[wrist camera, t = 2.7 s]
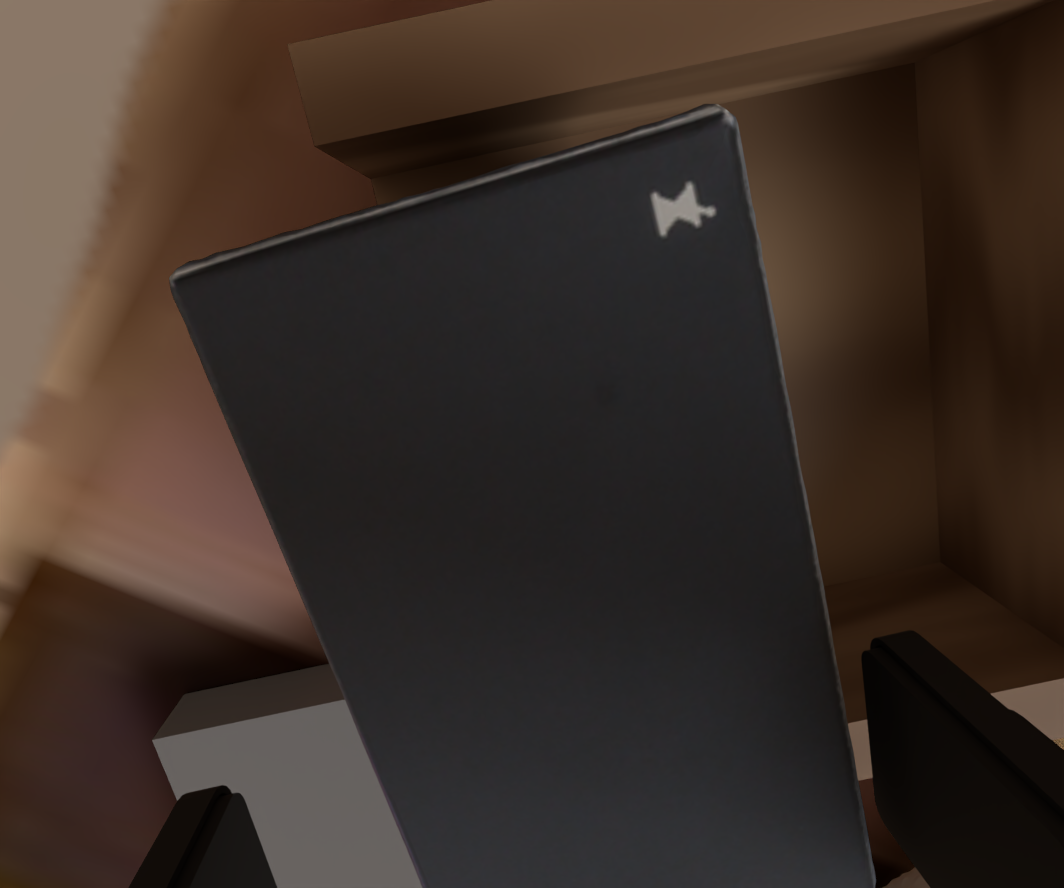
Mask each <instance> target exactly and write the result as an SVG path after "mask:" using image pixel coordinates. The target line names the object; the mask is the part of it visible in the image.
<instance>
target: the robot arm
mask: <svg viewBox="0 0 1064 888" xmlns="http://www.w3.org/2000/svg"><path fill="white" fill-rule="evenodd" d="M861 662H862V672H863V683H864V693H865V703H866V714H867V724H868V734H869V745H870V755H871V765H872V775H873V786H874V796H875V802H876V806H877V809H878V812H879V814H880V817H881V819H882V821H883V823H884V824H885V826H886V827H887V829H888V830H889V832H890V833H891V834H892V836H893V837H894V838H895V840H896V841H897V843H898V844H899V845H900V847H901V848H902V850H903V851H904V852H905V854H906V855H907V856H908V858H909V859H910V861H911V862H912V863H913V865H914V866H915V867H916V869H917V870H918V872H919V873H920V874H921V876H922V877H923V879H924V880H925V881H926V883H927V884H928V885H929V887H930V888H1064V750H1063V749H1062V748H1060V747H1059V746H1058V745H1057V744H1056V743H1054V742H1053V741H1052V740H1051V739H1050V738H1048V737H1047V736H1046V735H1045V734H1044V733H1042V732H1041V731H1040V730H1039V729H1038V728H1036V727H1035V726H1034V725H1033V724H1032V723H1030V722H1029V721H1028V720H1027V719H1025V718H1024V717H1023V716H1021V715H1020V714H1018V713H1017V712H1015V711H1014V710H1010V709H1008V708H1007V707H1005V706H1004V705H1003V704H1002V703H1001V702H1000V701H998V700H997V699H996V698H995V697H994V696H992V695H991V694H990V693H989V692H988V691H986V690H985V689H984V688H983V687H982V686H980V685H979V684H978V683H977V682H976V681H974V680H973V679H972V678H971V677H970V676H969V675H967V674H966V673H965V672H964V671H963V670H961V669H960V668H959V667H958V666H957V665H955V664H954V663H953V662H952V661H951V660H949V659H948V658H947V657H946V656H945V655H943V654H942V653H941V652H940V651H939V650H937V649H936V648H935V647H934V646H933V645H932V644H930V643H929V642H928V641H927V640H926V639H924V638H923V637H922V636H921V635H920V634H918V633H917V632H915V631H913V630H908V631H903V632H899V633H894V634H890V635H885V636H881V637H877V638H874V639H873V640H872V641H871V644H870V650H866V651H864V652H862V656H861ZM129 888H277V885H276V883H275V880H274V877H273V874H272V872H271V869H270V866H269V864H268V861H267V858H266V856H265V853H264V850H263V848H262V845H261V842H260V839H259V837H258V834H257V831H256V829H255V826H254V823H253V821H252V818H251V815H250V813H249V810H248V807H247V804H246V802H245V799H244V797H243V796H242V795H241V794H240V793H232V792H231V790H230V789H229V788H228V787H227V786H225V785H220V786H216V787H211V788H207V789H202V790H198V791H194V792H189V793H186V794H184V795H182V796H181V797H180V798H179V800H178V801H177V803H176V805H175V806H174V808H173V810H172V812H171V813H170V815H169V817H168V819H167V821H166V822H165V824H164V826H163V828H162V829H161V831H160V833H159V835H158V836H157V838H156V840H155V842H154V844H153V845H152V847H151V849H150V851H149V852H148V854H147V856H146V858H145V859H144V861H143V863H142V865H141V867H140V868H139V870H138V872H137V874H136V875H135V877H134V879H133V881H132V883H131V884H130V886H129Z"/></svg>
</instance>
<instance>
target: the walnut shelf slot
mask: <svg viewBox="0 0 1064 888" xmlns="http://www.w3.org/2000/svg"><path fill="white" fill-rule="evenodd" d="M287 46H288V50H289V53H290V57H291V61H292V64H293V68H294V72H295V76H296V79H297V83H298V87H299V90H300V94H301V98H302V102H303V105H304V109H305V113H306V117H307V120H308V124H309V128H310V131H311V135H312V139H313V143H314V146H315V147H317V148H318V149H320V150H322V151H324V152H325V153H327V154H329V155H331V156H332V157H334V158H336V159H337V160H339V161H341V162H343V163H344V164H346V165H348V166H350V167H351V168H353V169H355V170H356V171H358V172H360V173H362V174H363V175H365V176H367V177H369V178H370V179H371V182H372V186H373V190H374V194H375V198H376V202H377V205H380V204H384V203H389V202H393V201H396V200H399V199H401V198H403V197H407V196H412V195H417V194H421V193H424V192H427V191H430V190H432V189H437V188H442V187H445V186H448V185H451V184H454V183H458V182H461V181H464V180H467V179H470V178H473V177H476V176H479V175H482V174H485V173H488V172H491V171H493V170H496V169H499V168H502V167H505V166H509V165H512V164H516V163H520V162H524V161H527V160H531V159H535V158H538V157H541V156H545V155H548V154H551V153H555V152H558V151H561V150H565V149H568V148H571V147H575V146H578V145H581V144H585V143H588V142H591V141H595V140H598V139H601V138H605V137H608V136H612V135H615V134H618V133H622V132H625V131H628V130H630V129H633V128H636V127H638V126H642V125H646V124H650V123H654V122H658V121H661V120H664V119H667V118H670V117H672V116H675V115H678V114H681V113H684V112H686V111H689V110H691V109H693V108H696V107H698V106H701V105H703V104H718V105H720V106H721V107H723V108H725V109H726V110H728V111H729V112H730V113H731V114H733V115H734V116H735V117H736V120H737V122H738V126H739V131H740V136H741V142H742V148H743V153H744V159H745V165H746V171H747V176H748V182H749V188H750V194H751V199H752V205H753V209H754V212H755V217H756V227H757V231H758V234H759V238H760V241H761V247H762V258H763V262H764V266H765V271H766V276H767V282H768V288H769V293H770V298H771V303H772V308H773V313H774V318H775V323H776V328H777V334H778V340H779V346H780V352H781V358H782V364H783V370H784V376H785V382H786V387H787V392H788V397H789V401H790V406H791V412H792V417H793V423H794V429H795V435H796V442H797V448H798V455H799V462H800V467H801V472H802V477H803V481H804V485H805V489H806V494H807V499H808V505H809V511H810V518H811V523H812V528H813V532H814V538H815V543H816V549H817V555H818V561H819V566H820V571H821V576H822V580H823V585H824V590H825V597H826V603H827V608H828V613H829V619H830V625H831V632H832V638H833V644H834V650H835V656H836V661H837V666H838V671H839V676H840V682H841V687H842V692H843V697H844V703H845V710H846V717H847V722H848V727H849V733H850V737H851V742H852V747H853V752H854V758H855V765H856V771H857V777H858V781H859V780H864V779H869V778H873V775H872V765H871V755H870V745H869V734H868V724H867V714H866V703H865V693H864V683H863V672H862V662H861V656H862V652H864V651H866V650H870V644H871V641H872V640H873V639H874V638H877V637H881V636H885V635H890V634H894V633H899V632H903V631H908V630H913V631H915V632H917V633H918V634H920V635H921V636H922V637H923V638H924V639H926V640H927V641H928V642H929V643H930V644H932V645H933V646H934V647H935V648H936V649H937V650H939V651H940V652H941V653H942V654H943V655H945V656H946V657H947V658H948V659H949V660H951V661H952V662H953V663H954V664H955V665H957V666H958V667H959V668H960V669H961V670H963V671H964V672H965V673H966V674H967V675H969V676H970V677H971V678H972V679H973V680H974V681H976V682H977V683H978V684H979V685H980V686H982V687H983V688H984V689H985V690H986V691H988V692H989V693H990V694H991V695H992V696H994V697H995V698H996V699H997V700H998V701H1000V702H1001V703H1002V704H1003V705H1004V706H1005V707H1007V708H1008V709H1010V710H1014V711H1015V712H1017V713H1018V714H1020V715H1021V716H1023V717H1024V718H1025V719H1027V720H1028V721H1029V722H1030V723H1032V724H1033V725H1034V726H1035V727H1036V728H1038V729H1039V730H1040V731H1041V732H1042V733H1044V734H1045V735H1046V736H1047V737H1048V738H1050V739H1051V740H1055V739H1060V738H1064V0H491V1H486V2H482V3H477V4H472V5H468V6H463V7H458V8H454V9H449V10H444V11H440V12H435V13H430V14H426V15H421V16H416V17H412V18H407V19H403V20H398V21H393V22H389V23H384V24H379V25H375V26H370V27H365V28H361V29H356V30H351V31H347V32H342V33H337V34H333V35H328V36H323V37H319V38H314V39H309V40H305V41H300V42H295V43H291V44H287Z"/></svg>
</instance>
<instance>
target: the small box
mask: <svg viewBox="0 0 1064 888" xmlns="http://www.w3.org/2000/svg"><path fill="white" fill-rule="evenodd" d="M169 281H170V287H171V292H172V295H173V298H174V300H175V303H176V305H177V307H178V309H179V311H180V313H181V315H182V317H183V319H184V322H185V324H186V326H187V329H188V332H189V334H190V337H191V339H192V342H193V344H194V346H195V348H196V351H197V353H198V355H199V357H200V360H201V363H202V365H203V368H204V370H205V373H206V375H207V378H208V380H209V382H210V385H211V387H212V389H213V392H214V394H215V396H216V399H217V401H218V403H219V406H220V408H221V411H222V413H223V415H224V418H225V420H226V422H227V425H228V427H229V429H230V432H231V434H232V436H233V439H234V441H235V443H236V446H237V448H238V450H239V453H240V455H241V457H242V460H243V462H244V464H245V467H246V469H247V471H248V473H249V476H250V478H251V480H252V483H253V485H254V487H255V490H256V492H257V494H258V497H259V499H260V501H261V504H262V506H263V508H264V511H265V513H266V516H267V518H268V520H269V523H270V525H271V527H272V530H273V532H274V534H275V537H276V539H277V541H278V544H279V546H280V549H281V551H282V553H283V556H284V558H285V560H286V563H287V565H288V567H289V570H290V572H291V574H292V577H293V579H294V581H295V584H296V586H297V589H298V591H299V593H300V596H301V598H302V600H303V603H304V605H305V607H306V610H307V612H308V615H309V617H310V619H311V622H312V624H313V626H314V629H315V631H316V633H317V636H318V638H319V641H320V643H321V645H322V648H323V650H324V652H325V655H326V657H327V659H328V662H329V664H330V666H331V669H332V671H333V673H334V676H335V678H336V680H337V683H338V685H339V687H340V690H341V692H342V694H343V697H344V699H345V701H346V703H347V706H348V708H349V711H350V713H351V716H352V718H353V721H354V723H355V726H356V728H357V731H358V733H359V736H360V738H361V741H362V743H363V746H364V748H365V750H366V753H367V755H368V757H369V760H370V762H371V765H372V767H373V769H374V772H375V774H376V777H377V779H378V781H379V784H380V786H381V789H382V791H383V793H384V796H385V798H386V801H387V803H388V805H389V808H390V810H391V813H392V815H393V817H394V820H395V822H396V825H397V827H398V829H399V832H400V834H401V837H402V839H403V841H404V844H405V846H406V849H407V851H408V853H409V856H410V858H411V861H412V863H413V866H414V868H415V871H416V873H417V875H418V878H419V880H420V883H421V885H422V888H875V884H876V876H875V870H874V865H873V861H872V855H871V849H870V843H869V837H868V831H867V826H866V820H865V814H864V809H863V804H862V798H861V793H860V788H859V783H858V777H857V771H856V765H855V758H854V752H853V747H852V742H851V737H850V733H849V727H848V722H847V717H846V710H845V703H844V697H843V692H842V687H841V682H840V676H839V671H838V666H837V661H836V656H835V650H834V644H833V638H832V632H831V625H830V619H829V613H828V608H827V603H826V597H825V590H824V585H823V580H822V576H821V571H820V566H819V561H818V555H817V549H816V543H815V538H814V532H813V528H812V523H811V518H810V511H809V505H808V499H807V494H806V489H805V485H804V481H803V477H802V472H801V467H800V462H799V455H798V448H797V442H796V435H795V429H794V423H793V417H792V412H791V406H790V401H789V397H788V392H787V387H786V382H785V376H784V370H783V364H782V358H781V352H780V346H779V340H778V334H777V328H776V323H775V318H774V313H773V308H772V303H771V298H770V293H769V288H768V282H767V276H766V271H765V266H764V262H763V258H762V247H761V241H760V238H759V234H758V231H757V227H756V217H755V212H754V209H753V205H752V199H751V194H750V188H749V182H748V176H747V171H746V165H745V159H744V153H743V148H742V142H741V136H740V131H739V126H738V122H737V120H736V117H735V116H734V115H733V114H731V113H730V112H729V111H728V110H726V109H725V108H723V107H721V106H720V105H718V104H703V105H701V106H698V107H696V108H693V109H691V110H689V111H686V112H684V113H681V114H678V115H675V116H672V117H670V118H667V119H664V120H661V121H658V122H654V123H650V124H646V125H642V126H638V127H636V128H633V129H630V130H628V131H625V132H622V133H618V134H615V135H612V136H608V137H605V138H601V139H598V140H595V141H591V142H588V143H585V144H581V145H578V146H575V147H571V148H568V149H565V150H561V151H558V152H555V153H551V154H548V155H545V156H541V157H538V158H535V159H531V160H527V161H524V162H520V163H516V164H512V165H509V166H505V167H502V168H499V169H496V170H493V171H491V172H488V173H485V174H482V175H479V176H476V177H473V178H470V179H467V180H464V181H461V182H458V183H454V184H451V185H448V186H445V187H442V188H437V189H432V190H430V191H427V192H424V193H421V194H417V195H412V196H407V197H403V198H401V199H399V200H396V201H393V202H389V203H384V204H380V205H376V206H373V207H370V208H367V209H363V210H360V211H357V212H354V213H350V214H347V215H343V216H340V217H336V218H333V219H330V220H327V221H324V222H321V223H318V224H315V225H312V226H309V227H306V228H303V229H300V230H295V231H289V232H284V233H281V234H278V235H276V236H273V237H270V238H267V239H264V240H261V241H258V242H255V243H252V244H250V245H247V246H244V247H239V248H235V249H231V250H226V251H222V252H217V253H215V254H212V255H210V256H208V257H206V258H203V259H200V260H194V261H189V262H187V263H186V264H184V265H182V266H180V267H179V268H177V269H176V270H175V272H174V273H173V274H172V275H171V276H170V277H169Z"/></svg>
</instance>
